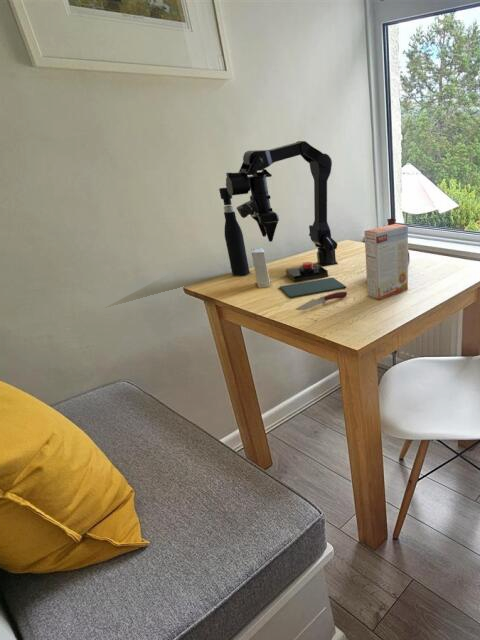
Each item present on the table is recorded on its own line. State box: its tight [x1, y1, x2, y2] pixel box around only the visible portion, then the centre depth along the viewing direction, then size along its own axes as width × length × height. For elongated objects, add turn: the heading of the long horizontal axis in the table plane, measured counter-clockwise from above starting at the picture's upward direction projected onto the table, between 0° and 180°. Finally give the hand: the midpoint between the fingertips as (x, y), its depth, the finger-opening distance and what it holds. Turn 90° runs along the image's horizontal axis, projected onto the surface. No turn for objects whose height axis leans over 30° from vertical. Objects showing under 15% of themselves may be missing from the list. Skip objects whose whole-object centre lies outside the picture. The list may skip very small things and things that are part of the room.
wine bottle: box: [218, 187, 250, 277], centre depth 155 cm, size 6×6×30 cm
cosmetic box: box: [250, 247, 271, 289], centre depth 148 cm, size 6×4×12 cm
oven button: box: [302, 261, 314, 269], centre depth 155 cm, size 4×4×2 cm
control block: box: [285, 264, 329, 283], centre depth 158 cm, size 13×11×4 cm
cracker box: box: [364, 223, 409, 300], centre depth 136 cm, size 14×6×21 cm, turn 135°
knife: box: [295, 290, 348, 311], centre depth 132 cm, size 20×1×3 cm, turn 137°
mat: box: [279, 277, 347, 299], centre depth 147 cm, size 20×12×1 cm, turn 118°
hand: (267, 238), depth 154 cm, fingers open, 9 cm apart
